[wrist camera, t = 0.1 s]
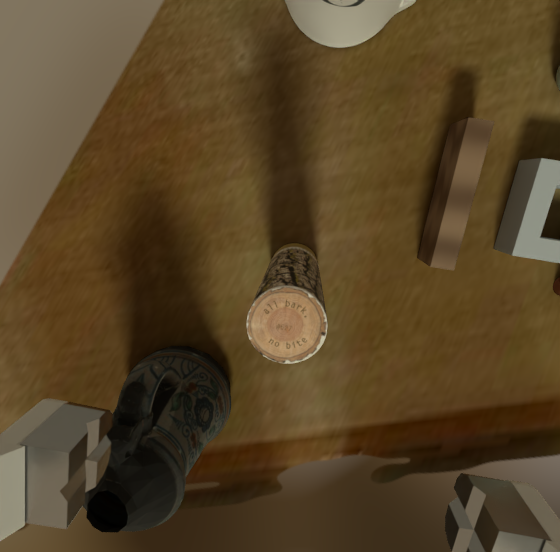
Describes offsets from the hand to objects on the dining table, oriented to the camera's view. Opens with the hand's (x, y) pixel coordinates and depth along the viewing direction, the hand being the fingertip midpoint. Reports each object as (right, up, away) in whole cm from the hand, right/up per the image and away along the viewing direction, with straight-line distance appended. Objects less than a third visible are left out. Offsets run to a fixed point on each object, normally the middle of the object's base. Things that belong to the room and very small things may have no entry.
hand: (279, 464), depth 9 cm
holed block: (+37, +13, +44) cm, 59 cm away
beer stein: (-16, -13, +54) cm, 57 cm away
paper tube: (+2, +6, +48) cm, 48 cm away
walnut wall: (+22, +15, +44) cm, 52 cm away
